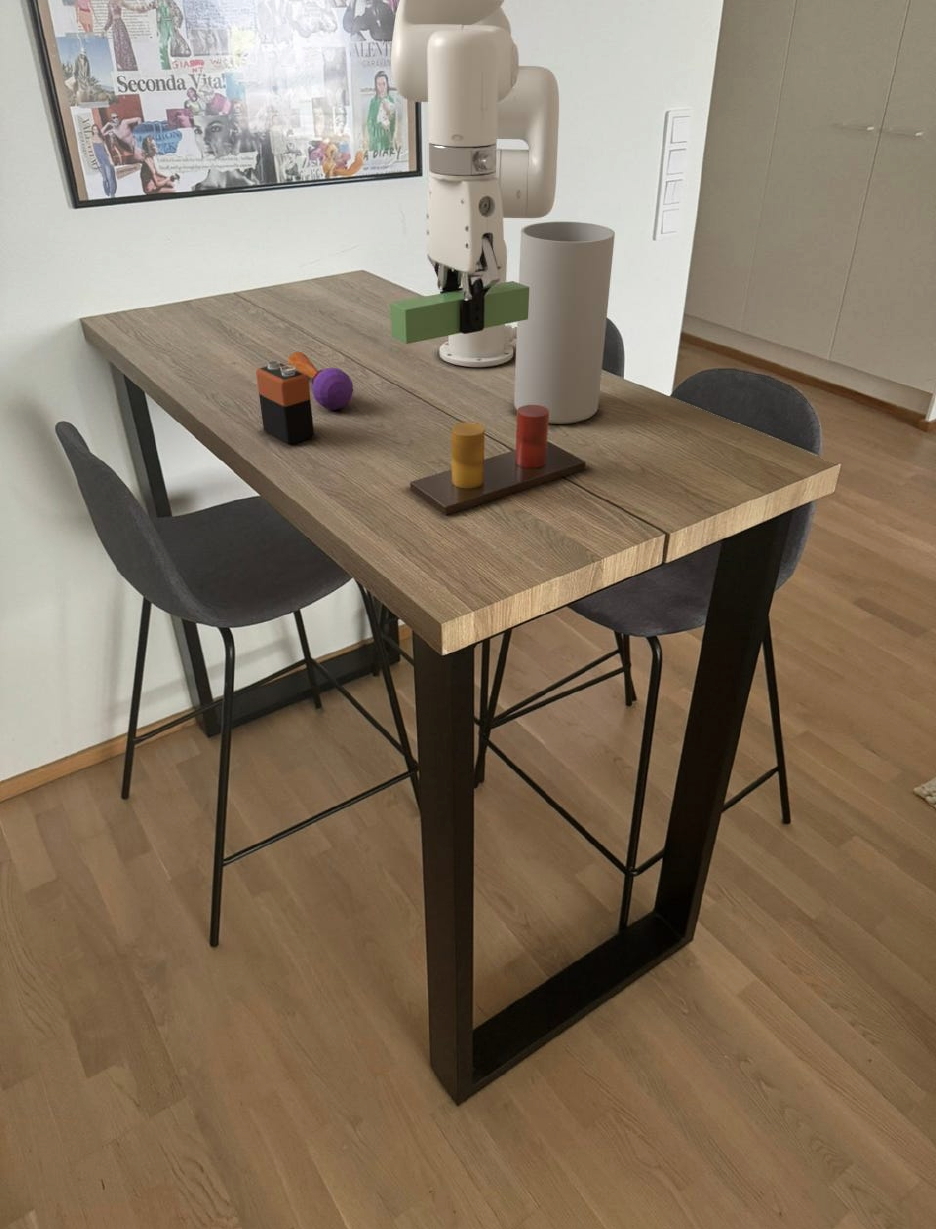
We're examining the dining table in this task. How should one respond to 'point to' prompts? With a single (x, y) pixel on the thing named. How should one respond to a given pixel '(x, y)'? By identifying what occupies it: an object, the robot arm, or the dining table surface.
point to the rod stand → (496, 464)
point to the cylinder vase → (563, 317)
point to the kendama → (325, 382)
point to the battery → (285, 402)
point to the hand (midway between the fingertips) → (462, 325)
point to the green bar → (455, 312)
